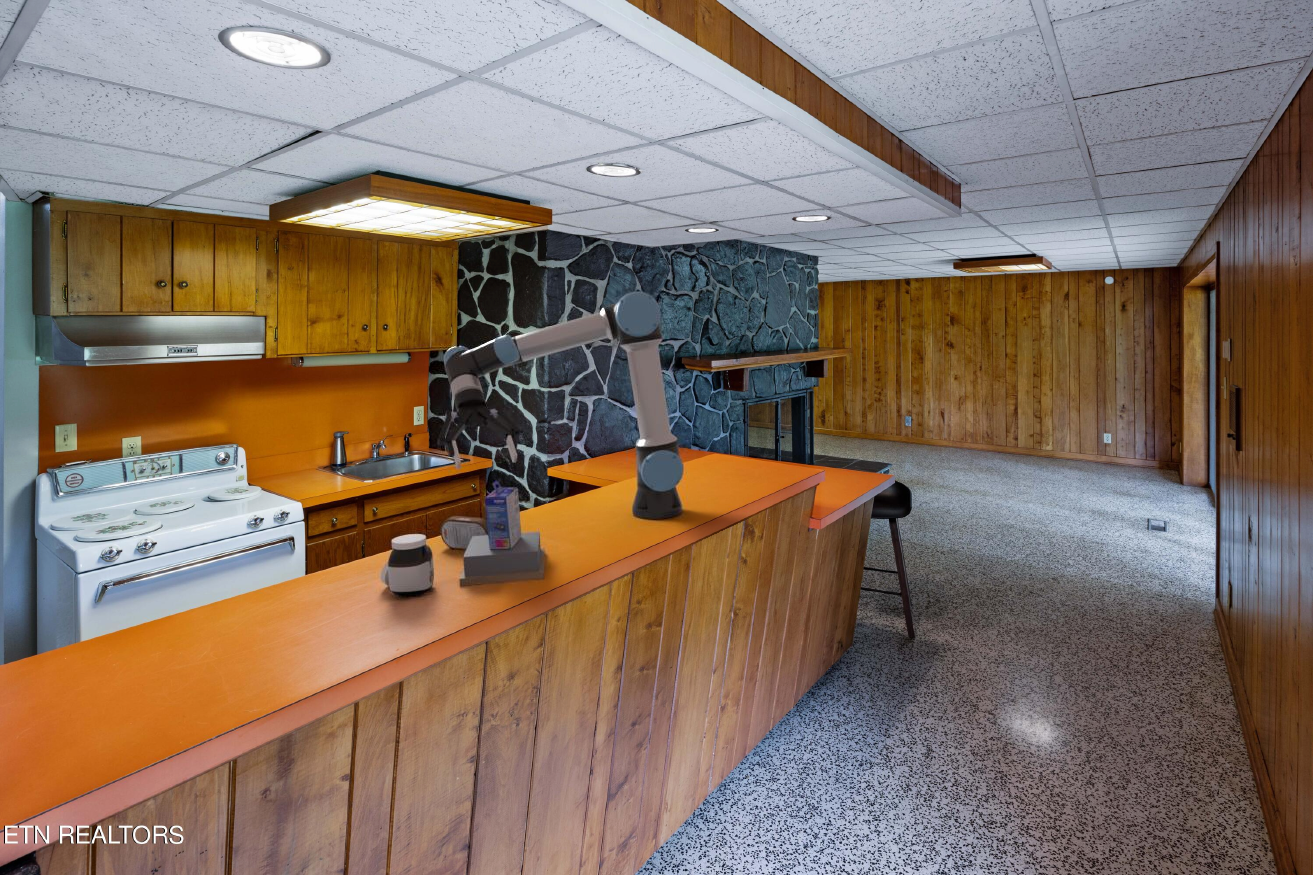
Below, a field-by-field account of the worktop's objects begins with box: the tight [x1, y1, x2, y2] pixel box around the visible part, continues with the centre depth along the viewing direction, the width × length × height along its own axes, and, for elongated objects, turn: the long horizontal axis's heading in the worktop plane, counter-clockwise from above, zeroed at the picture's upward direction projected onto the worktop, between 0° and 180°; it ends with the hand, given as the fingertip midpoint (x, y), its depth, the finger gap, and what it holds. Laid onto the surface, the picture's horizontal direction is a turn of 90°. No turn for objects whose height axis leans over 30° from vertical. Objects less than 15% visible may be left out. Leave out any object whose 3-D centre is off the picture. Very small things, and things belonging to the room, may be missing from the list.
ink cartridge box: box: [484, 480, 522, 549], centre depth 151 cm, size 10×6×14 cm, turn 178°
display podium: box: [459, 531, 546, 586], centre depth 152 cm, size 18×18×6 cm
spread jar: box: [379, 533, 435, 599], centre depth 140 cm, size 12×11×12 cm
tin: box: [439, 515, 488, 551], centre depth 168 cm, size 15×3×8 cm, turn 70°
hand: (487, 462), depth 158 cm, fingers open, 13 cm apart
